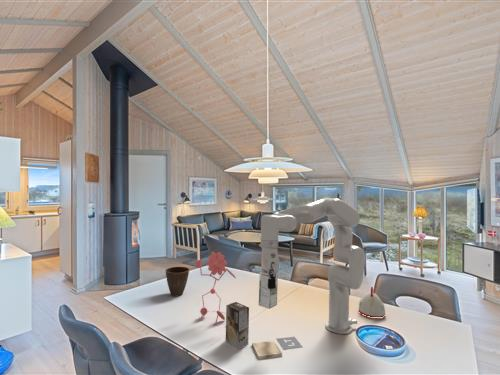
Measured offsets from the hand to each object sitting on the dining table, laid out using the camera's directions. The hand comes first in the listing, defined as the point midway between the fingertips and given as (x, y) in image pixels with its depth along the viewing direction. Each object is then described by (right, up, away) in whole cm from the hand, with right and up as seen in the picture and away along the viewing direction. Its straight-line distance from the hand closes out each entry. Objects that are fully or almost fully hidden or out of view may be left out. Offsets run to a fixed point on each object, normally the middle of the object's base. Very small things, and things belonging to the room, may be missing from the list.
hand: (268, 285), depth 118 cm
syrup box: (0, -9, 0) cm, 9 cm away
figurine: (-26, -28, +30) cm, 49 cm away
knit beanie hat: (+62, -31, +40) cm, 80 cm away
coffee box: (-14, -28, +5) cm, 31 cm away
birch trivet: (-1, -28, -1) cm, 28 cm away
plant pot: (-56, -28, +62) cm, 88 cm away
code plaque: (+10, -28, +6) cm, 30 cm away
